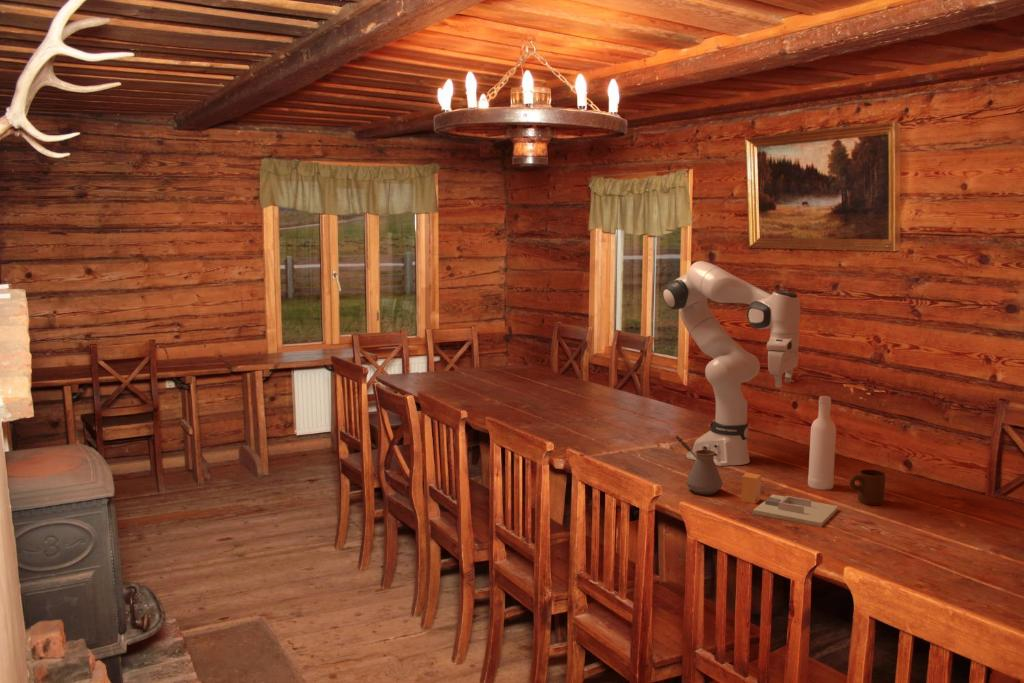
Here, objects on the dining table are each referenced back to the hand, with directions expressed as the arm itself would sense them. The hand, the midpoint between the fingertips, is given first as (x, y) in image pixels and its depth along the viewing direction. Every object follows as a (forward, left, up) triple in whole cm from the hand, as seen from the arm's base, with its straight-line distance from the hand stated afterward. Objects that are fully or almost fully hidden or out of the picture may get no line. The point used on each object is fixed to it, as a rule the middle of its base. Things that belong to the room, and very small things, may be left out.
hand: (783, 384), depth 287 cm
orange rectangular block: (-4, -16, -35) cm, 38 cm away
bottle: (+10, +11, -35) cm, 38 cm away
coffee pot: (-24, -13, -35) cm, 44 cm away
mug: (+26, +2, -35) cm, 44 cm away
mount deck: (+11, -19, -35) cm, 41 cm away
